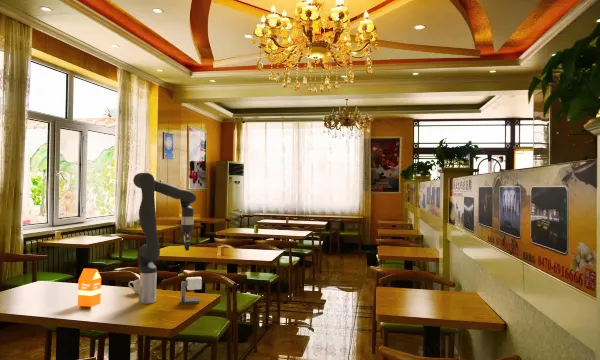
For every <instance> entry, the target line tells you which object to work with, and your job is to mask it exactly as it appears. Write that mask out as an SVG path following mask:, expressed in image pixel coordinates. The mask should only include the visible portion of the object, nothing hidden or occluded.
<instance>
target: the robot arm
mask: <svg viewBox="0 0 600 360" xmlns="http://www.w3.org/2000/svg"><path fill="white" fill-rule="evenodd" d="M132 181H133V185H134V186H135V187H136V188H138V189H140V190H141V202H140V205H139V209H138V221H139V226H140V228H141V231H142V232H143V234H144V237H145V241H146V242H145V243H146V244H145V243H144V244H143V245H141V246H140V247H139V249H138V250H139V251H138V268H139V279H140V286H139V294H138V304H143V305H144V304H146V305H147V304H154V303H155V302H157V280H158V279H157V273H158V272H157V271H158V269H157V266H156V265H155V263H154V262H156V261H157V260H158V259H159V258H160V254H161V248H160V243H159V238H158V228H157V227H158V226H157V212H156V203H155V200H156V198H155V192H156V193H159V194H162V195H164V196H167V197H169V198H172V199H175V200H179V201H180V205H181V206H180V207H181V219H180V220H181V221H180V222H181V224H180V231H181V232H184V234H183V242H184V250H185V252H187V251H190V244H191V236H192V234H191V232H194V224H195V221H194V219H195V218H194V211H195V210H194V208H193V207H192V206H191V205H192V204H193V203H195V202H196V200H197V195H196V194H195V192H192V191H189V190H186V189H182V188H179V187H178V186H175V185H172V184H169V183H165V182H162V181H158V180H155V178H154V176H153V174H152V173H150V172H138V173H136V174H135V175H134V177H133V180H132Z"/></svg>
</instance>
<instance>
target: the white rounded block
mask: <svg viewBox="0 0 600 360" xmlns="http://www.w3.org/2000/svg"><path fill="white" fill-rule="evenodd" d="M202 280H203V279H202V277H201V276H188V277H186V278H185V281H186V282H187V286H186V288H187V291H191V290H192V291H193V290H202V289H203V287H202V286H203V281H202Z"/></svg>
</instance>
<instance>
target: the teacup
mask: <svg viewBox="0 0 600 360" xmlns="http://www.w3.org/2000/svg"><path fill="white" fill-rule="evenodd" d="M131 284H132V285H133V287H132V286H131ZM127 286H128V287H129V289H131V290H132V291H133V292H134V293H136V295H139V286H140V278H139V279H135V280H134V281H133V280H132V281H131V280H130V281H129V282H128V285H127Z"/></svg>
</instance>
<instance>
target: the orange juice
mask: <svg viewBox="0 0 600 360" xmlns="http://www.w3.org/2000/svg"><path fill="white" fill-rule="evenodd" d="M77 283H78V285H77V286H78V287H77V288H78V289H77V306H78V307H79V306H80V307H90V308H91V307H96V306H98V305H99V304H101V296H102V295H101V293H102V275H101V274H100V272H99V270H98V269H97V268H83V270H82V272H81V274H80V276H79V278H78V282H77Z"/></svg>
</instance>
